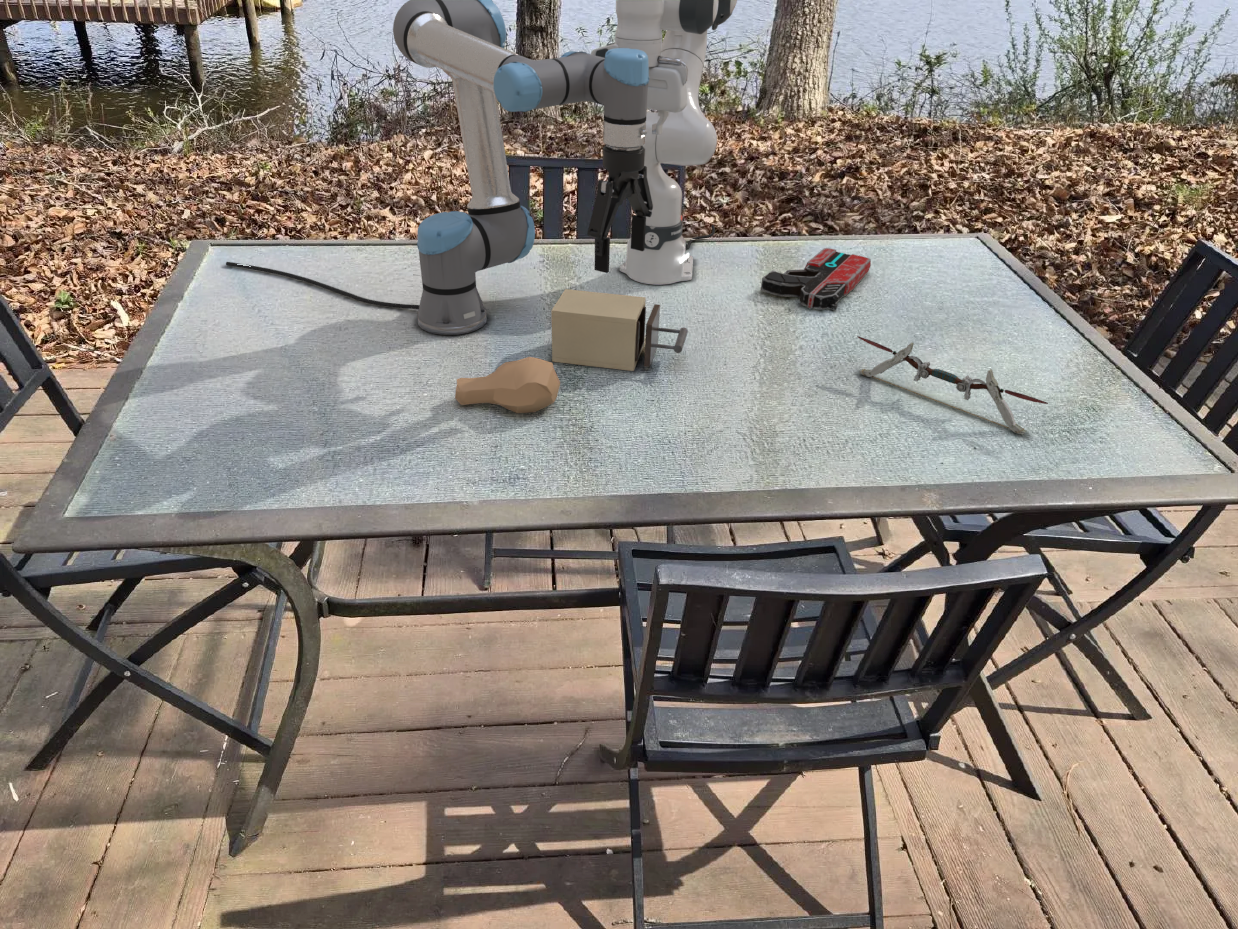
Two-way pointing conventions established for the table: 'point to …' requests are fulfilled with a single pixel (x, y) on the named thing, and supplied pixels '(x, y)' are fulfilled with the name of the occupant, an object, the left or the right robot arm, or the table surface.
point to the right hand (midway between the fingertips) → (635, 130)
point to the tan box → (595, 329)
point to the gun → (819, 279)
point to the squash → (513, 386)
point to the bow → (962, 385)
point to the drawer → (654, 335)
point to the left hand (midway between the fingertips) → (620, 260)
